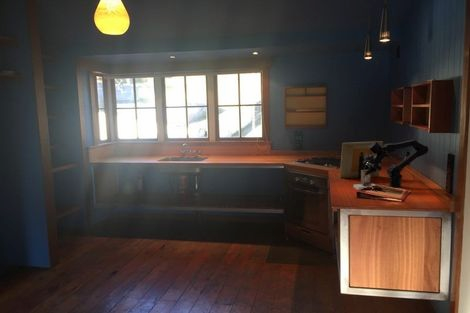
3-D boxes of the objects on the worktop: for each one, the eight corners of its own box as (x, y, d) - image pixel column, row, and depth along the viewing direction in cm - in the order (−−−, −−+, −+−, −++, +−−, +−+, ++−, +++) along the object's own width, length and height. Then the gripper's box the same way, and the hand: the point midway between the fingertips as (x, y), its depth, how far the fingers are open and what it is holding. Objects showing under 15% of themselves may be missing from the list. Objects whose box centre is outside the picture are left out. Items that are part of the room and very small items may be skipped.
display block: (372, 186, 271) (372, 183, 270) (378, 189, 261) (378, 186, 260) (353, 187, 270) (353, 184, 270) (358, 189, 260) (358, 187, 260)
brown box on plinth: (368, 183, 268) (368, 169, 267) (371, 184, 263) (371, 170, 261) (360, 183, 268) (359, 170, 266) (363, 185, 262) (363, 171, 261)
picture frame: (378, 176, 312) (378, 140, 309) (383, 178, 302) (383, 141, 299) (339, 178, 311) (339, 142, 308) (343, 180, 301) (343, 143, 298)
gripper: (365, 149, 272) (350, 165, 272) (377, 151, 254) (361, 168, 254) (375, 159, 274) (361, 175, 274) (388, 162, 255) (372, 179, 255)
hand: (363, 174), depth 264 cm, fingers closed on brown box on plinth, 4 cm apart
